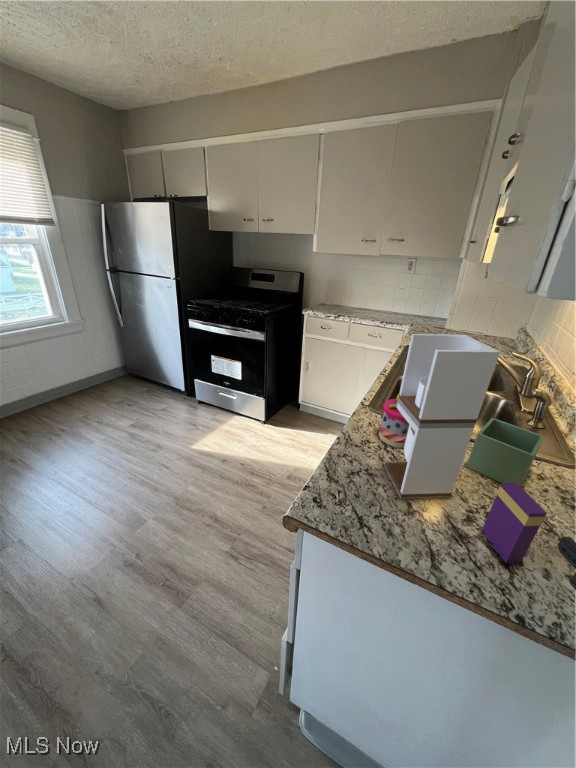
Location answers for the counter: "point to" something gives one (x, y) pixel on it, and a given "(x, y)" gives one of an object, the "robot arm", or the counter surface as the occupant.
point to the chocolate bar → (513, 522)
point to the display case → (439, 410)
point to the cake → (393, 425)
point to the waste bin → (504, 451)
